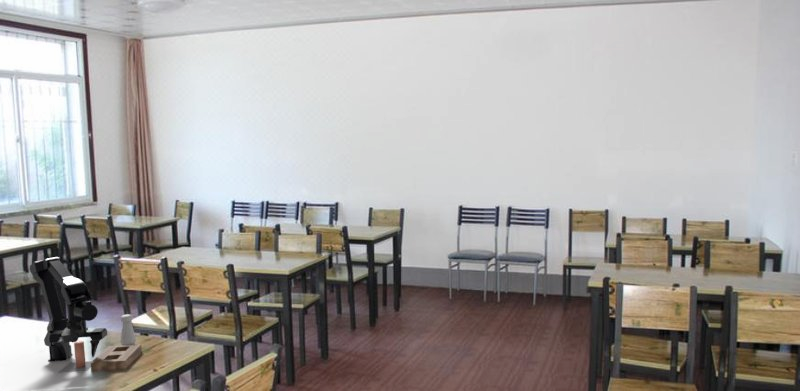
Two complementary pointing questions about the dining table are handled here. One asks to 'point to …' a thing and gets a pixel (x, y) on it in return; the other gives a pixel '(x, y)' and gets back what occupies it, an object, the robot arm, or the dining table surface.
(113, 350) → the socket block
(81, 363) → the peg
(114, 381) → the dining table surface
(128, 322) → the salt shaker
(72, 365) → the mat
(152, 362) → the dining table surface
